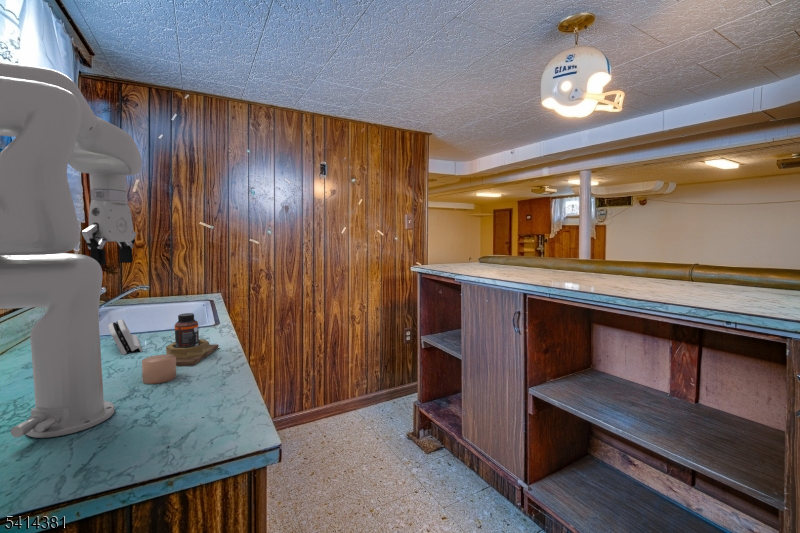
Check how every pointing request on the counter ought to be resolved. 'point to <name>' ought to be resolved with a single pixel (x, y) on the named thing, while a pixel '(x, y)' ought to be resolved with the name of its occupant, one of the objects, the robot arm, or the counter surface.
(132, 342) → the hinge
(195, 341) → the supplement bottle
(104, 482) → the counter surface
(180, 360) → the holder plate
